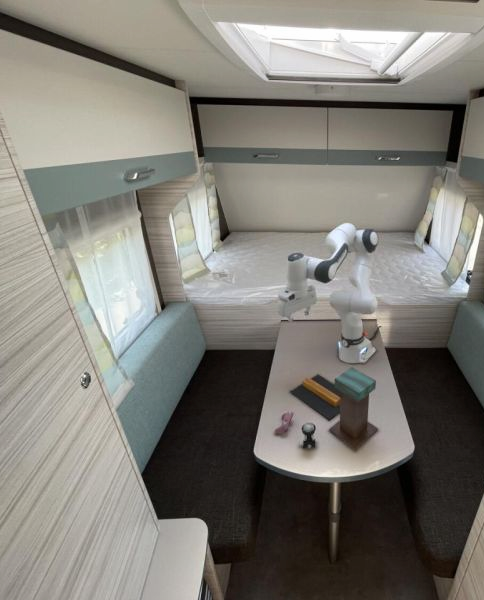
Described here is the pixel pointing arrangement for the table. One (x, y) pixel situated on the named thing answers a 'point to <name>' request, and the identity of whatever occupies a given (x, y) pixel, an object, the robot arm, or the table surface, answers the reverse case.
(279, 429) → the pink irregular piece
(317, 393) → the ochre bar
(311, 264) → the robot arm
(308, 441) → the black silver upright piece
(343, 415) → the stand
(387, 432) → the table surface
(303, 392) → the mat
